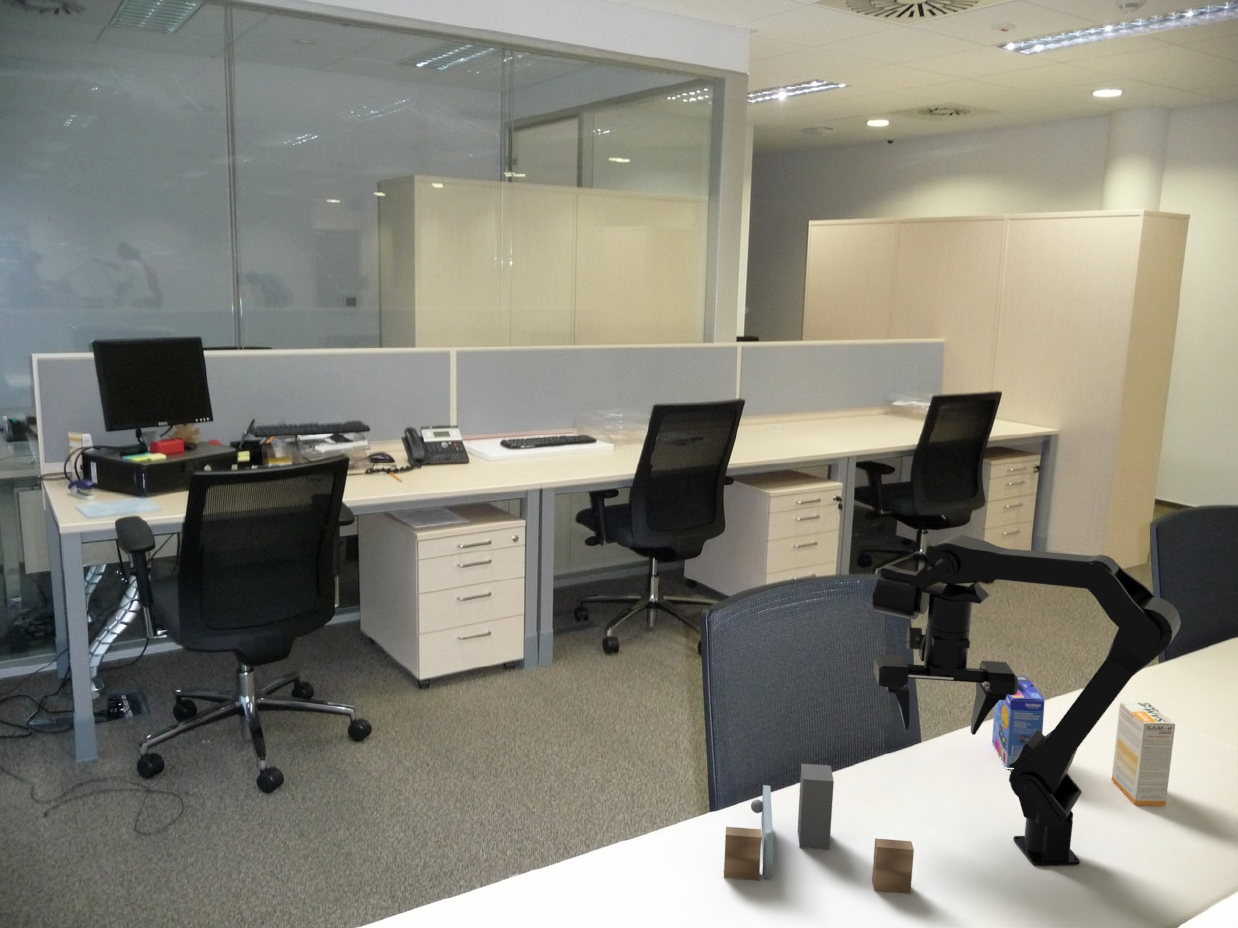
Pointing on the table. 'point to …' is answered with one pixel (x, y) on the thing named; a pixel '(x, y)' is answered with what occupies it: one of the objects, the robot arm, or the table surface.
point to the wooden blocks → (887, 866)
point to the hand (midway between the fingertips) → (939, 730)
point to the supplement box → (1143, 753)
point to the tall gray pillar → (815, 806)
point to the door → (765, 829)
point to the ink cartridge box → (1017, 720)
